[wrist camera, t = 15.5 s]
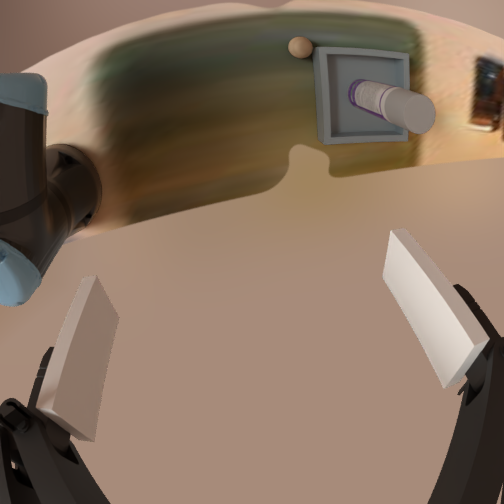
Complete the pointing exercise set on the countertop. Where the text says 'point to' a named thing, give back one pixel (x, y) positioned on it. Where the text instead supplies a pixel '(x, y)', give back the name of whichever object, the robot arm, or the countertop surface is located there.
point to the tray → (335, 93)
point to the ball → (300, 47)
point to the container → (393, 104)
